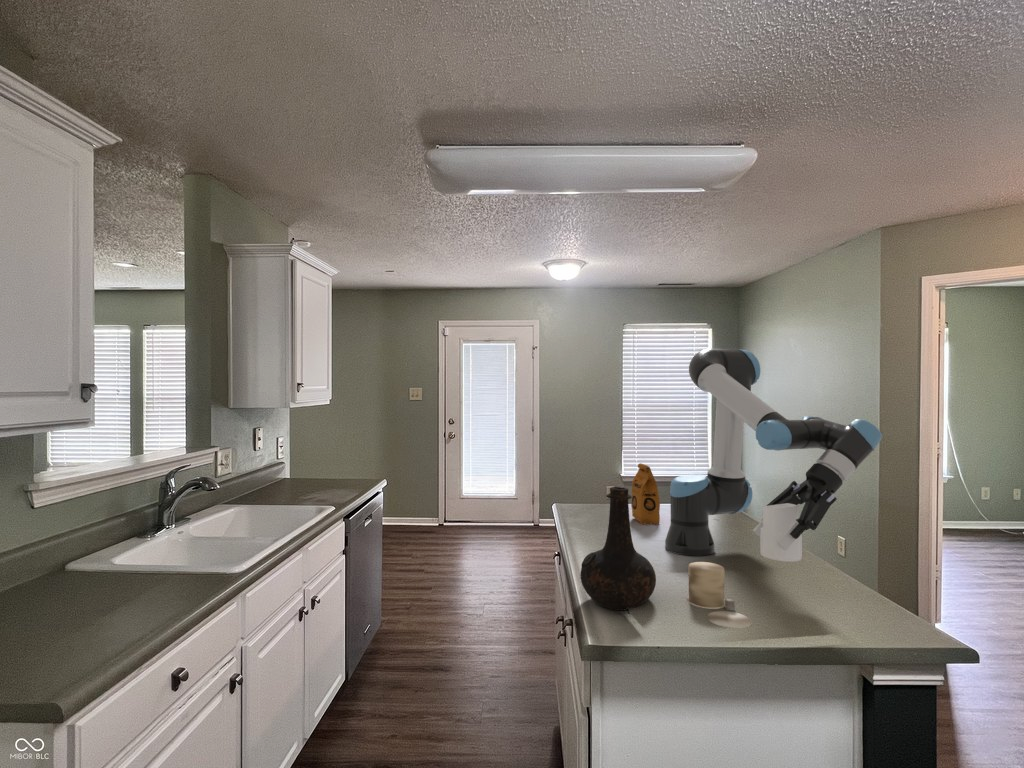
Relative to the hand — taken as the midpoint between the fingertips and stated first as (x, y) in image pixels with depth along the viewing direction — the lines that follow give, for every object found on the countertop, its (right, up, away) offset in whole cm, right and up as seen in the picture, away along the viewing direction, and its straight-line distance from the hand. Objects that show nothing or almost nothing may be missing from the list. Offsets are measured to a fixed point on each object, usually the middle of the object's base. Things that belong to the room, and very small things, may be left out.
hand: (768, 540), depth 132 cm
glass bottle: (-36, -16, +1) cm, 39 cm away
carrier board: (-12, -15, -7) cm, 21 cm away
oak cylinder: (-16, -14, -2) cm, 21 cm away
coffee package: (-9, -16, +82) cm, 84 cm away
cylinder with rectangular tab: (+3, -4, 0) cm, 5 cm away
